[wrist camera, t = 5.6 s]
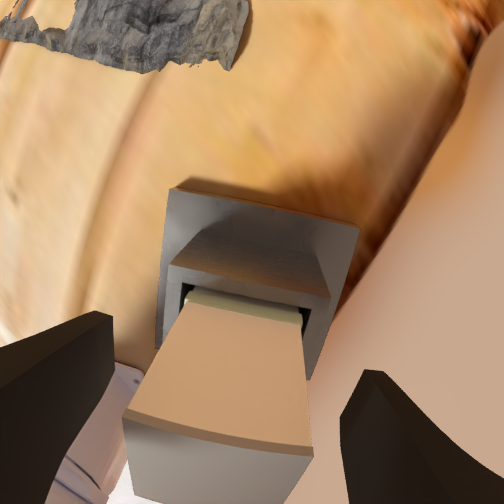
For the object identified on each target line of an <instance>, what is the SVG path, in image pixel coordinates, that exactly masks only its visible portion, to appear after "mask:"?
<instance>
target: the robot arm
mask: <svg viewBox="0 0 504 504" xmlns="http://www.w3.org/2000/svg"><path fill="white" fill-rule="evenodd" d="M143 378H144V374H143V372H142V371H141V370H139V369H136V368H132V367H129V366H126V365H123V364H120V363H117V362H115V358H114V337H113V316H111V315H108V314H104V313H101V312H98V311H92V312H89V313H86V314H84V315H81V316H79V317H76V318H74V319H71V320H69V321H67V322H64V323H62V324H60V325H57V326H55V327H52V328H50V329H48V330H45V331H43V332H41V333H38V334H36V335H33V336H30V337H28V338H25V339H22V340H20V341H17V342H14V343H11V344H9V345H6V346H3V347H0V504H106V503H107V501H108V498H109V497H108V495H109V494H111V492H112V491H113V490H114V488H115V486H116V484H117V482H118V480H119V477H120V475H121V473H122V470H123V468H124V466H125V464H126V461H127V459H128V458H127V452H126V446H125V439H124V432H123V425H122V415H123V413H124V411H125V409H126V408H128V406H129V404H130V402H131V400H132V399H133V397H134V395H135V393H136V391H137V389H138V387H139V386H140V384H141V382H142V380H143ZM136 379H137V380H138V381H137V380H136ZM340 447H341V454H342V459H343V466H344V472H345V479H346V484H347V492H348V498H349V504H504V478H502V477H500V476H499V475H497V474H495V473H494V472H492V471H491V470H489V469H488V468H486V467H485V466H483V465H482V464H481V463H479V462H478V461H477V460H475V459H474V458H473V457H471V456H470V455H469V454H467V453H466V452H465V451H464V450H462V449H461V448H460V447H459V446H458V445H456V444H455V443H454V442H453V441H452V440H451V439H450V438H449V437H448V436H447V435H446V434H445V433H444V432H442V431H441V430H440V429H439V428H438V427H437V426H436V425H435V424H434V423H433V422H432V421H431V420H430V419H429V418H428V417H427V416H426V415H425V414H424V413H423V411H422V410H420V408H419V407H418V406H417V405H416V404H415V403H414V402H413V401H412V400H411V399H410V398H409V397H408V396H407V395H406V393H405V392H403V390H401V388H400V387H399V386H398V385H397V384H396V383H395V382H394V381H393V380H392V379H391V378H390V377H389V376H388V375H387V374H386V373H384V372H383V371H376V370H368V369H367V370H366V369H364V371H363V373H362V375H361V377H360V380H359V381H358V384H357V386H356V388H355V389H354V392H353V393H352V396H351V397H350V399H349V401H348V403H347V405H346V407H345V409H344V410H343V412H342V414H341V416H340Z"/></svg>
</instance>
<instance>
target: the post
mask: <svg viewBox="0 0 504 504" xmlns="http://www.w3.org/2000/svg"><path fill="white" fill-rule="evenodd" d="M302 324H303V321H302V314H299V310H298V306H293V305H287V304H282V303H277V302H272V301H267V300H262V299H257V298H252V297H248V296H243V295H238V294H233V293H229V292H224V291H219V290H215V289H210V288H206V287H201V286H197V285H196V286H195V288H194V289H193V291H189V293H188V294H187V296H186V298H185V302H184V307H183V308H182V310H181V312H180V314H179V316H178V317H177V319H176V321H175V323H174V324H173V326H172V328H171V330H170V331H169V333H168V335H167V337H166V339H165V340H164V342H163V344H162V346H161V347H160V349H159V351H158V353H157V355H156V356H155V358H154V360H153V362H152V364H151V366H150V367H149V369H148V371H147V373H146V375H145V376H144V378H143V380H142V382H141V384H140V386H139V387H138V389H137V391H136V393H135V395H134V397H133V399H132V400H131V402H130V404H129V406H128V408H126V409H125V411H124V413H123V415H122V425H123V432H124V439H125V446H126V452H127V458H128V464H129V469H130V475H131V480H132V485H133V490H134V494H135V495H136V496H139V497H142V498H145V499H149V500H152V501H155V502H159V503H162V504H283V503H284V502H285V500H286V499H287V497H288V496H289V494H290V493H291V491H292V490H293V489H294V487H295V486H296V484H297V482H298V481H299V479H300V478H301V476H302V475H303V473H304V472H305V470H306V469H307V467H308V465H309V464H310V462H311V460H312V459H313V457H314V454H313V447H312V443H311V430H310V419H309V407H308V396H307V385H306V375H305V365H304V355H303V346H302V337H301V328H302Z"/></svg>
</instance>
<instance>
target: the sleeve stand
mask: <svg viewBox="0 0 504 504" xmlns="http://www.w3.org/2000/svg"><path fill="white" fill-rule="evenodd" d="M359 232H360V228H359V227H358V226H357V225H356V224H352V223H348V222H344V221H340V220H335V219H331V218H327V217H323V216H318V215H314V214H309V213H305V212H300V211H296V210H291V209H287V208H282V207H277V206H272V205H268V204H263V203H258V202H253V201H248V200H243V199H238V198H233V197H228V196H223V195H217V194H212V193H207V192H201V191H196V190H190V189H184V188H179V187H173V188H171V189H169V195H168V202H167V210H166V218H165V226H164V235H163V244H162V253H161V264H160V275H159V287H158V301H157V317H156V336H155V348H156V349H160V347H161V346H162V344H163V342H164V340H165V339H166V337H167V335H168V333H169V331H170V330H171V328H172V326H173V324H174V323H175V321H176V319H177V317H178V316H179V314H180V312H181V310H182V308H183V307H184V302H185V298H186V296H187V294H188V293H189V291H193V289H194V288H195V286H196V285H197V286H201V287H206V288H210V289H215V290H219V291H224V292H229V293H233V294H238V295H243V296H248V297H252V298H257V299H262V300H267V301H272V302H277V303H282V304H287V305H293V306H298V310H299V314H302V321H303V324H302V328H301V337H302V346H303V355H304V365H305V375H306V380H310V379H311V376H312V374H313V371H314V368H315V366H316V363H317V361H318V358H319V355H320V353H321V350H322V347H323V345H324V342H325V339H326V336H327V333H328V331H329V328H330V325H331V322H332V319H333V316H334V313H335V311H336V308H337V305H338V302H339V298H340V295H341V292H342V289H343V286H344V283H345V280H346V277H347V273H348V270H349V267H350V264H351V260H352V257H353V253H354V250H355V246H356V243H357V239H358V236H359Z"/></svg>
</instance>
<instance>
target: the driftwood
mask: <svg viewBox="0 0 504 504" xmlns="http://www.w3.org/2000/svg"><path fill="white" fill-rule="evenodd" d="M18 1H19V0H18ZM18 1H17V2H16V3H15V5H16V4H17V3H18ZM27 1H28V0H24V1H23V2H22V4H21V5H20V7H19V9H18V11H17V13H16V16H15V17H12V18H11V19H10V16H11V13H12V12H11V13H10V14H9V15H8V16H5V17H4V18H3V20H2V21H0V39H10V41H14V42H16V41H18V42H19V41H22V42H24V43H33V44H34V43H35V44H37V45H40V46H43V47H45V48H47V49H48V50H50V51H57V52H61V53H69V54H70V55H74V56H75V57H78V58H83V59H88V60H96V61H98V62H99V63H100V64H103V65H106V66H112V67H114V68H119V69H125V70H126V71H135V72H138V73H140V74H145V73H148V72H150V71H152V70H155V69H157V70H158V71H159V72H160V71H161V69H163V68H164V67H165V66H166V64H167V63H168V61H173V62H175V63H177V64H179V65H181V64H183V63H185V62H186V63H191V65H190V67H191V66H192V65H194V64H195V63H196V64H200V63H202V60H203V59H207V60H208V61H214V60H216V59H218V61H219V63H220V64H221V66H222V67H223V69H224V70H227V71H230V69H231V64H232V62H233V58H234V56H235V53H236V51H237V48H238V46H239V40H240V38H241V37H240V36H241V35H242V32H243V26H244V24H245V22H246V18H247V16H248V13H249V9H248V7H249V4H248V1H246V0H77V1H76V2H75V4H76V5H75V10H76V11H75V13H74V15H73V20H72V22H71V24H70V26H69V28H67V29H66V30H62V29H59V28H57V29H55V28H49V29H46V30H43V31H42V32H41V31H40V30H39V27H38V24H37V23H36V21H35V19H34V18H33V16H30V17H28V18H27V19H24V20H21V17H20V13H21V12H22V10H23V9H24V8H25V6H26V4H27ZM14 7H15V6H14ZM14 7H13V8H14ZM7 17H8V19H7ZM198 67H199V66H198Z"/></svg>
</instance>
